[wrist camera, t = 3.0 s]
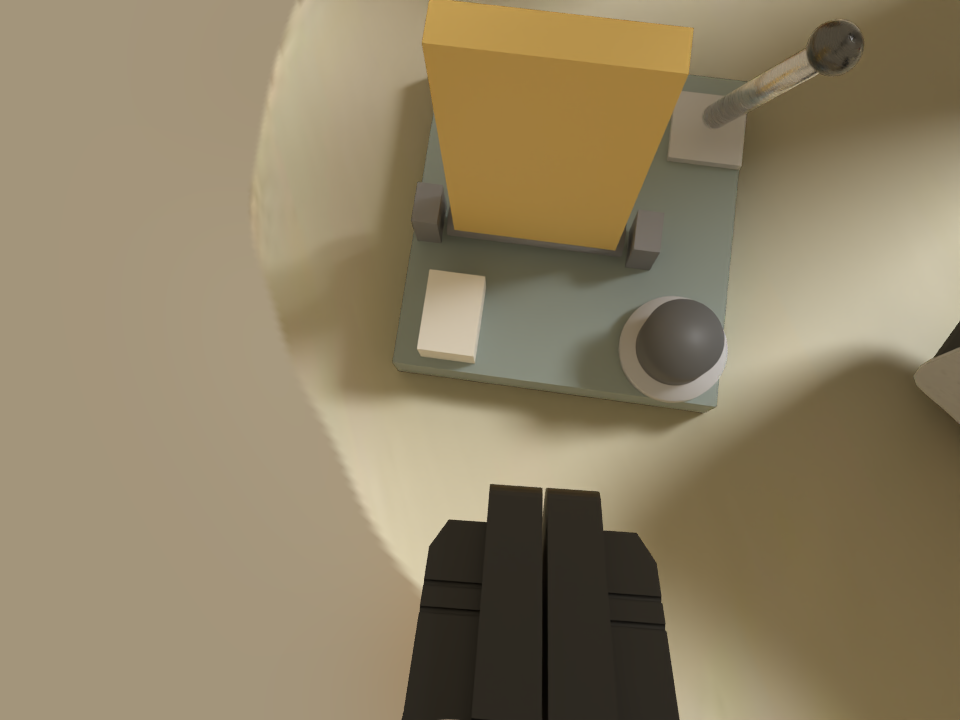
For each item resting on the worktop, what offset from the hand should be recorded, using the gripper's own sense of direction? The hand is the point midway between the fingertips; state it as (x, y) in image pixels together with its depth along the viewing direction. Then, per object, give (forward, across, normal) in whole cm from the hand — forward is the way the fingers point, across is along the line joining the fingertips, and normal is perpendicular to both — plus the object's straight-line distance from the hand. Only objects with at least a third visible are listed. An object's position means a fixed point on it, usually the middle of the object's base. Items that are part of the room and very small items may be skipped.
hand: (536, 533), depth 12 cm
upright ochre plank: (+23, 0, +6) cm, 24 cm away
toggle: (+26, -7, +2) cm, 27 cm away
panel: (+26, -2, +7) cm, 27 cm away
